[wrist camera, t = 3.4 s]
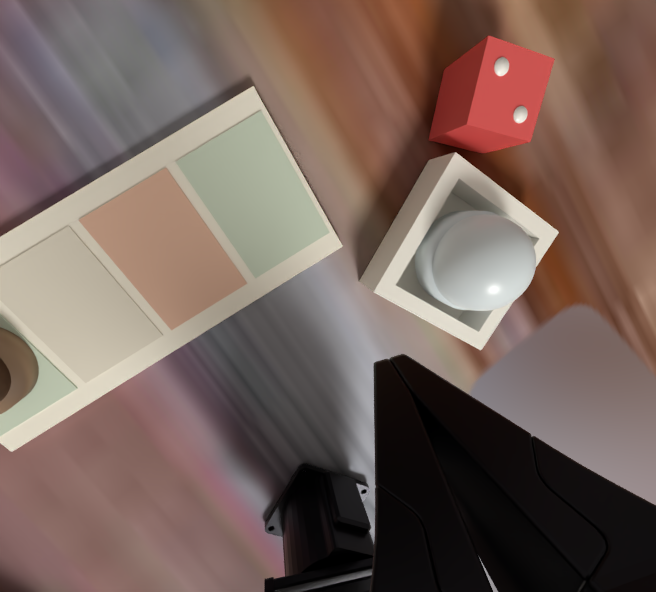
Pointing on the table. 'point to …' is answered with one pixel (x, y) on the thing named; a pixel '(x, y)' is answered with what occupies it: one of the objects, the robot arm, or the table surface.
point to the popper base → (415, 220)
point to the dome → (475, 260)
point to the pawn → (15, 369)
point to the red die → (491, 97)
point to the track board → (154, 258)
